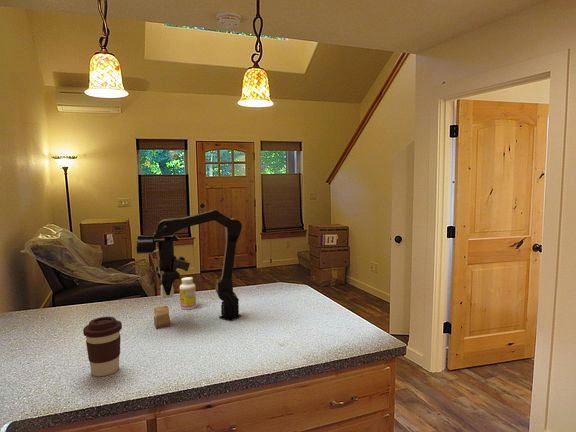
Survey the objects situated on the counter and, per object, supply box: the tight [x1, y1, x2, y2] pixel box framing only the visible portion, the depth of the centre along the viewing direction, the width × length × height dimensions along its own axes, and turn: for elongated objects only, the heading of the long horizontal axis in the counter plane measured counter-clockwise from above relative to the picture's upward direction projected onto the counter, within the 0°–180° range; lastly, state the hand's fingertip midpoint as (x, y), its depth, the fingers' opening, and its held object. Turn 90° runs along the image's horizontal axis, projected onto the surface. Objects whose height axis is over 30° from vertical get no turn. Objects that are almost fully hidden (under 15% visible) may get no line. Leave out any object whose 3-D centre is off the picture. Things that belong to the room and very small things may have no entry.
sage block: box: [160, 284, 175, 299], centre depth 146 cm, size 4×4×4 cm
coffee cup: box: [82, 316, 123, 377], centre depth 110 cm, size 10×10×15 cm
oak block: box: [153, 305, 170, 320], centre depth 145 cm, size 4×4×4 cm
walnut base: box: [153, 315, 171, 330], centre depth 146 cm, size 5×5×4 cm
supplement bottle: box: [179, 276, 197, 310], centre depth 166 cm, size 7×7×13 cm
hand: (167, 293), depth 146 cm, fingers closed on sage block, 4 cm apart
